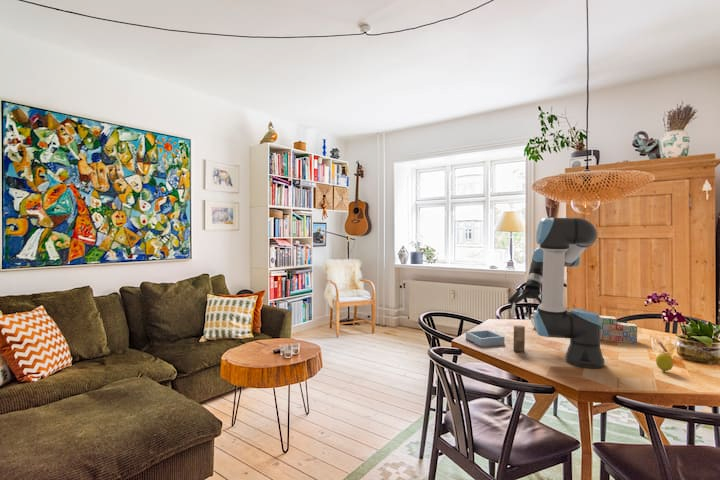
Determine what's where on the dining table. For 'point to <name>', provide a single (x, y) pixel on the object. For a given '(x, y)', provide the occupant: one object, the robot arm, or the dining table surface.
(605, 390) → the dining table surface
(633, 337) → the stack of blocks
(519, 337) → the brown rectangular block
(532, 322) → the lidded jar
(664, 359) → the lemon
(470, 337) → the bin
